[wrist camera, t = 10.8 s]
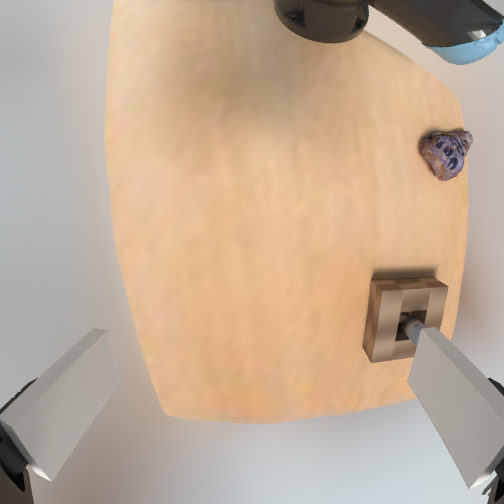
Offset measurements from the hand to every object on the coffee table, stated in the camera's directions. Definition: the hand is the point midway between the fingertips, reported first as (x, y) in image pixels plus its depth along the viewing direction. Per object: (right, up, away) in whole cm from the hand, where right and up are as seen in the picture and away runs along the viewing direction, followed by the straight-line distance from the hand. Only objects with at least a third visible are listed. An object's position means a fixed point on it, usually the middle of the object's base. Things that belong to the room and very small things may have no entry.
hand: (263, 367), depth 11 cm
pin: (+24, -6, +32) cm, 41 cm away
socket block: (+24, -6, +32) cm, 41 cm away
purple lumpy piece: (+31, +21, +27) cm, 46 cm away
